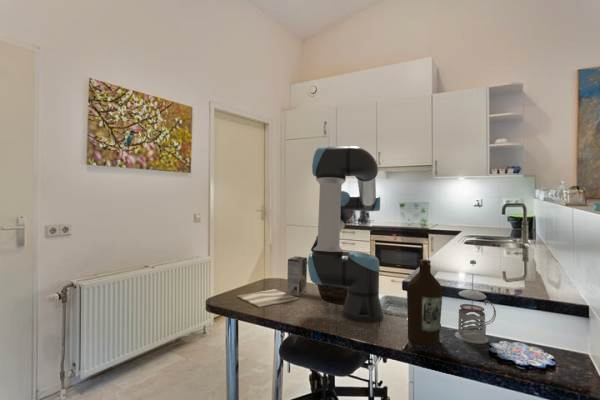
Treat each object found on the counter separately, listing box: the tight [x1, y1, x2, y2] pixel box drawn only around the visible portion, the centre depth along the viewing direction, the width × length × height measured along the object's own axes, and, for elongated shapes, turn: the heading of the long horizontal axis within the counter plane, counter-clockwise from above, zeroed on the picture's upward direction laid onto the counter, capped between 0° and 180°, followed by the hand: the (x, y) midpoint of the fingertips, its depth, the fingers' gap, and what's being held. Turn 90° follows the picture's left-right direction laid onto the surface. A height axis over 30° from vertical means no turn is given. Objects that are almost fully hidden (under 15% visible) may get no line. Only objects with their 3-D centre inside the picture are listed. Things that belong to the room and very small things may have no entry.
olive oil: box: [406, 259, 443, 346], centre depth 109 cm, size 11×11×25 cm
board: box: [236, 288, 300, 308], centre depth 149 cm, size 18×20×1 cm
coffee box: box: [286, 256, 308, 297], centre depth 159 cm, size 9×6×16 cm
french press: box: [454, 259, 497, 344], centre depth 111 cm, size 10×12×25 cm
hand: (308, 264), depth 164 cm, fingers closed
